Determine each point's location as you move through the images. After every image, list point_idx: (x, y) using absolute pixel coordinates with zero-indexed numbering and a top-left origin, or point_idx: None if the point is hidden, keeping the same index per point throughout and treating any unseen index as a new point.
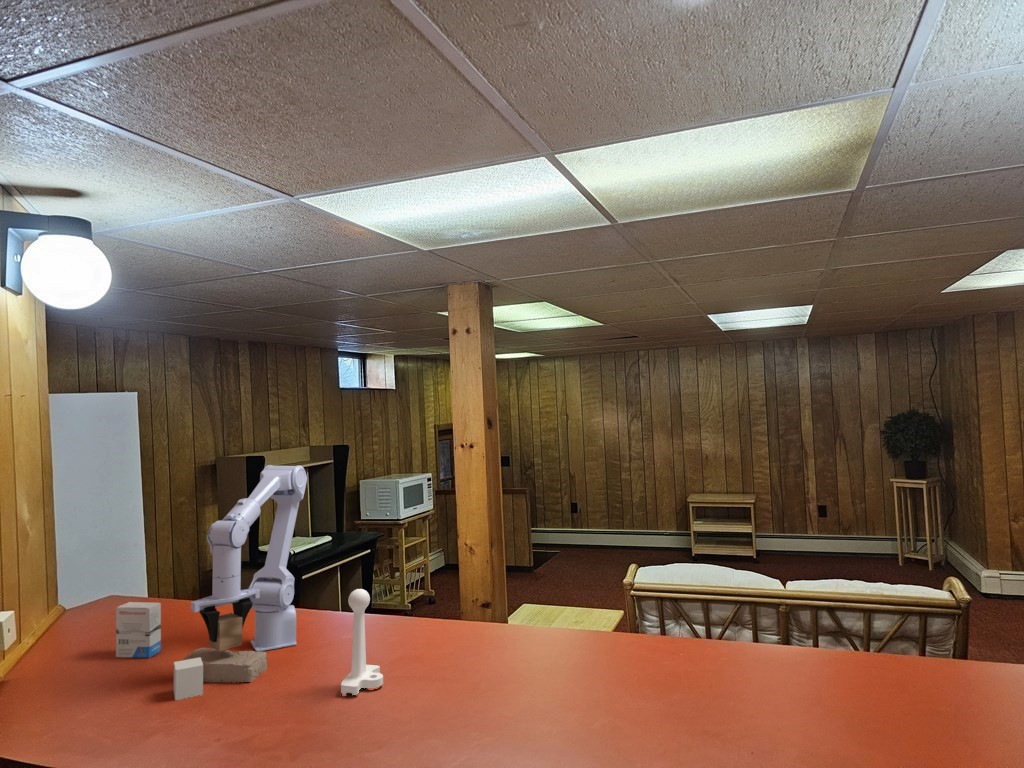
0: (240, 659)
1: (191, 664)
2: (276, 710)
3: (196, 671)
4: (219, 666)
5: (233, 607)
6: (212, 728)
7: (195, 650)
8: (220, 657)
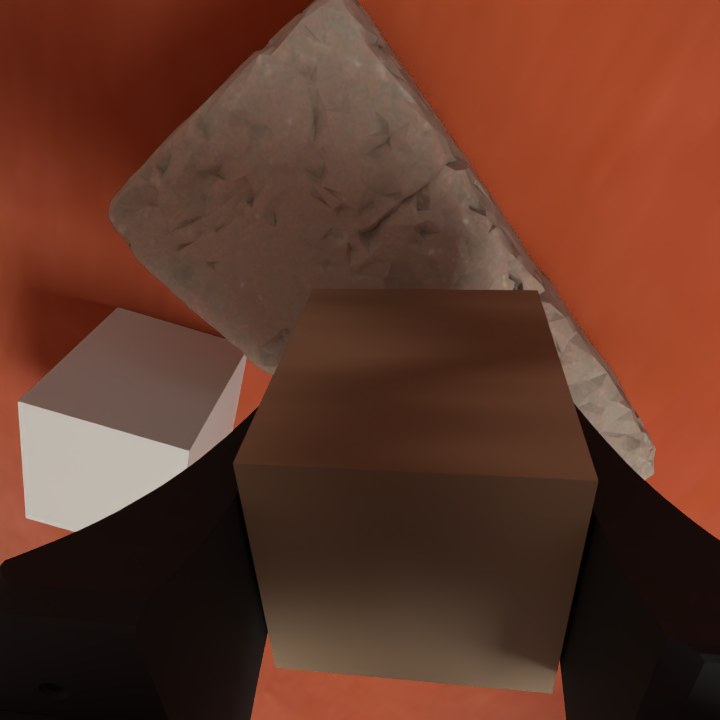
0: None
1: (115, 510)
2: (387, 696)
3: None
4: None
5: (621, 599)
6: None
7: (262, 76)
8: None
